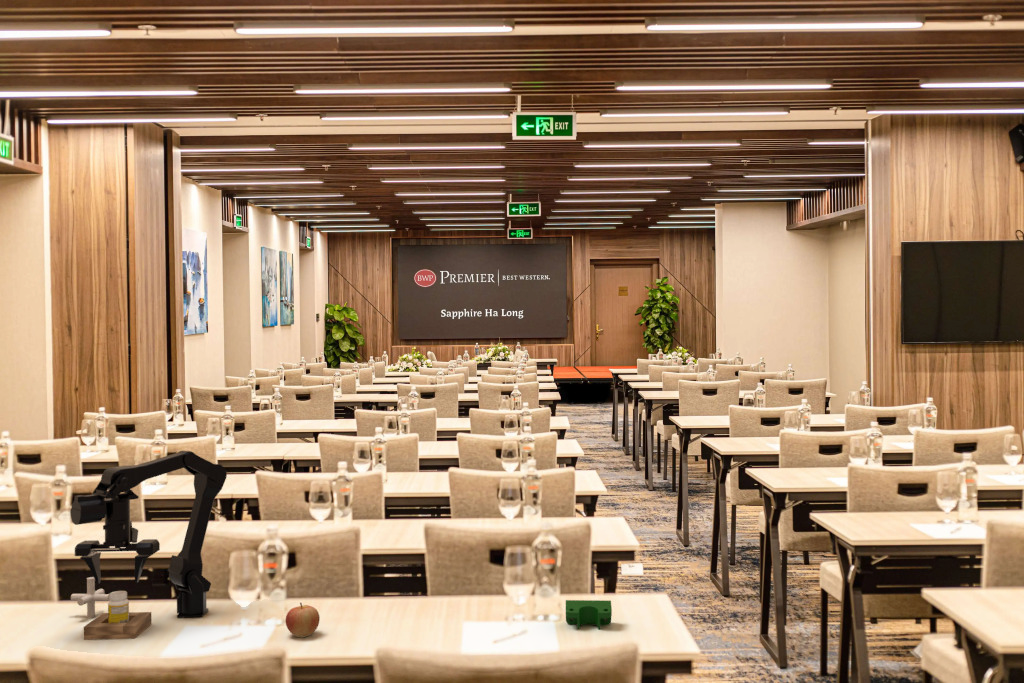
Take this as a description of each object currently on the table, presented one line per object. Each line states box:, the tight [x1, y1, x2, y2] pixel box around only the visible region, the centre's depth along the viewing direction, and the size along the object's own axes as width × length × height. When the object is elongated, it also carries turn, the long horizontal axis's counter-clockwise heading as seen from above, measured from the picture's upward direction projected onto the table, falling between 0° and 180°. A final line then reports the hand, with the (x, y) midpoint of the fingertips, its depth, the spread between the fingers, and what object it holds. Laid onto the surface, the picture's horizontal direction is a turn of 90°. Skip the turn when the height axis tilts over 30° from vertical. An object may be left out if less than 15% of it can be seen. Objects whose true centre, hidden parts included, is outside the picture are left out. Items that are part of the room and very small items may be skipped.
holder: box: [83, 611, 152, 640], centre depth 235 cm, size 12×12×3 cm
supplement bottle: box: [107, 590, 130, 623], centre depth 235 cm, size 5×5×8 cm
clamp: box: [565, 599, 613, 631], centre depth 235 cm, size 12×6×9 cm, turn 81°
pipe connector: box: [70, 576, 110, 619], centre depth 248 cm, size 10×10×10 cm
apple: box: [285, 602, 320, 638], centre depth 230 cm, size 8×8×8 cm
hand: (117, 582), depth 235 cm, fingers open, 9 cm apart
